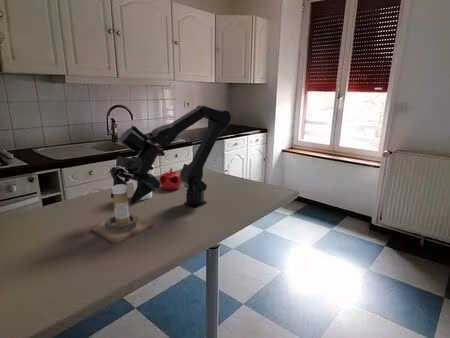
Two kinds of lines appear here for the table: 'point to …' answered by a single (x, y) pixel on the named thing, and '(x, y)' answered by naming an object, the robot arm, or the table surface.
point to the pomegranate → (170, 180)
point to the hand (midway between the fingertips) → (121, 200)
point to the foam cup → (148, 193)
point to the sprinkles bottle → (121, 204)
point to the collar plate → (120, 234)
